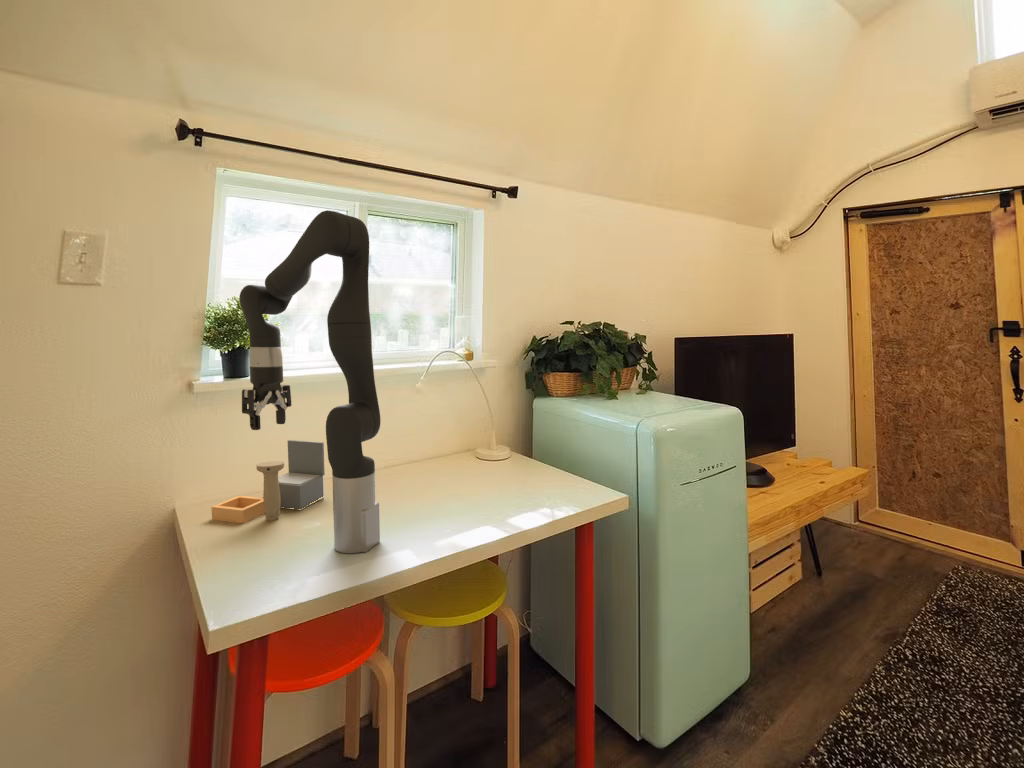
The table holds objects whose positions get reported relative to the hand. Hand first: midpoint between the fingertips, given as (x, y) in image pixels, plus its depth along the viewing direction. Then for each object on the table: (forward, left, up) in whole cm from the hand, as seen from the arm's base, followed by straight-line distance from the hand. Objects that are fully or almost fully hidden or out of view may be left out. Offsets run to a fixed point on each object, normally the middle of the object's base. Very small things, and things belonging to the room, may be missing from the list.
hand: (268, 426), depth 117 cm
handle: (0, 0, -25) cm, 25 cm away
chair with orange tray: (+6, -7, -25) cm, 26 cm away
